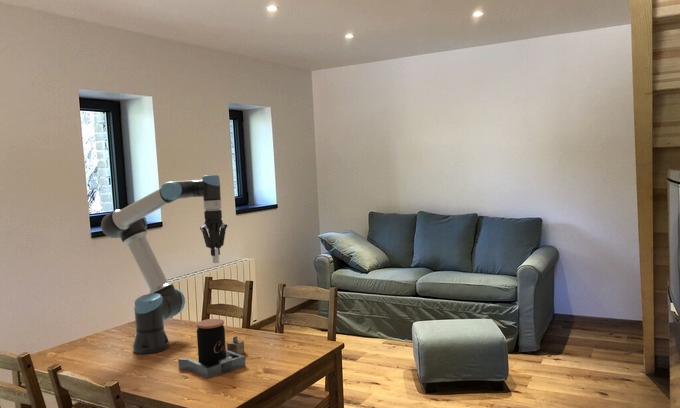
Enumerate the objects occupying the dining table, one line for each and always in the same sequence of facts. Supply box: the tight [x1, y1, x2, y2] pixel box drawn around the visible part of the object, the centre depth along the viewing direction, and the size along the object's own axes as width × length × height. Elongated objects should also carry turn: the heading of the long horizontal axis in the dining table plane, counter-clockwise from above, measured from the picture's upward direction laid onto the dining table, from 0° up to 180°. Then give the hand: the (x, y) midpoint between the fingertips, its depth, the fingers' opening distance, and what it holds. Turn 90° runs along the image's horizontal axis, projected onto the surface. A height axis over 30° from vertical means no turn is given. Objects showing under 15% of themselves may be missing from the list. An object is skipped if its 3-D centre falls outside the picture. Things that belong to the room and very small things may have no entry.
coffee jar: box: [195, 318, 227, 366], centre depth 223 cm, size 11×11×18 cm
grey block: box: [226, 335, 245, 355], centre depth 238 cm, size 5×5×7 cm
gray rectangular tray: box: [177, 349, 246, 380], centre depth 223 cm, size 19×21×5 cm
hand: (215, 262), depth 252 cm, fingers closed
